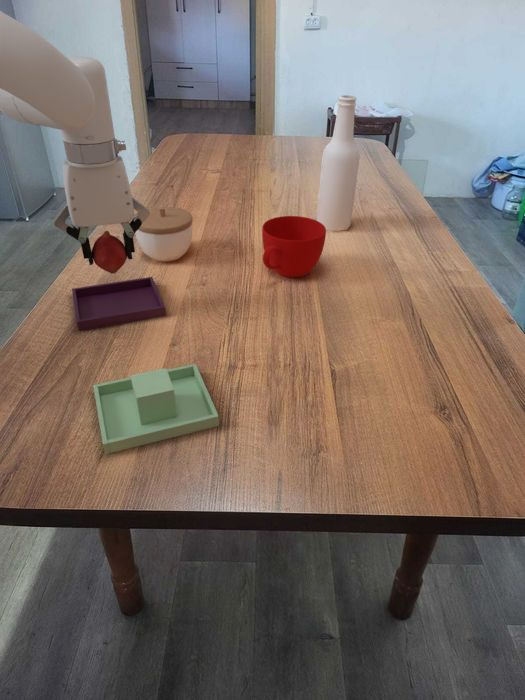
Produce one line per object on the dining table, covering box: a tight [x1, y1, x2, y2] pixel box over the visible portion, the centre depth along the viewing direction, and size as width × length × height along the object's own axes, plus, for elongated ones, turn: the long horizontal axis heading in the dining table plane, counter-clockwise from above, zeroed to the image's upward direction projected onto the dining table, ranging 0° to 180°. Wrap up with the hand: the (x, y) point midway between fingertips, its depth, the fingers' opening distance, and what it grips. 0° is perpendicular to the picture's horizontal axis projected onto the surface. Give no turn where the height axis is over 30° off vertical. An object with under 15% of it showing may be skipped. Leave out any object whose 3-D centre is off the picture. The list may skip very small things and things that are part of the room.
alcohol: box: [315, 94, 360, 232], centre depth 117 cm, size 9×9×30 cm
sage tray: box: [92, 363, 220, 455], centre depth 69 cm, size 15×12×2 cm
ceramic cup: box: [261, 215, 327, 279], centre depth 101 cm, size 13×17×10 cm
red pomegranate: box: [91, 230, 128, 275], centre depth 85 cm, size 6×6×8 cm
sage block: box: [130, 367, 177, 425], centre depth 68 cm, size 5×5×5 cm
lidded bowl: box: [131, 206, 194, 263], centre depth 107 cm, size 13×13×11 cm
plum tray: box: [71, 276, 167, 332], centre depth 91 cm, size 15×12×2 cm
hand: (110, 257), depth 86 cm, fingers closed on red pomegranate, 5 cm apart
